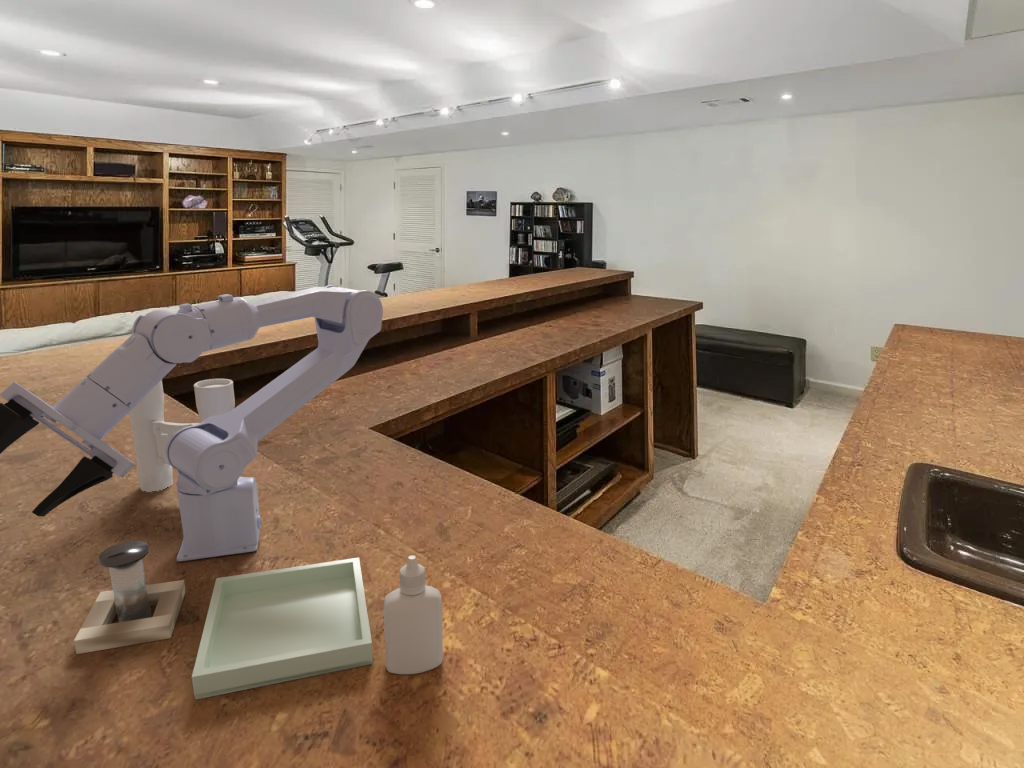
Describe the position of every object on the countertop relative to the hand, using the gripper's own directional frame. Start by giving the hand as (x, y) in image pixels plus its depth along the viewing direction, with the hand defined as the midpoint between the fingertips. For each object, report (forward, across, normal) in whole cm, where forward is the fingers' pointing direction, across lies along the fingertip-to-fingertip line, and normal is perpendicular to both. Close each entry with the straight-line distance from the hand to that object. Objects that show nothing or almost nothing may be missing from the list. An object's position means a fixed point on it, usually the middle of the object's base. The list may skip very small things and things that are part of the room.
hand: (4, 493), depth 62 cm
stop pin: (+4, +18, +2) cm, 19 cm away
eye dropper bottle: (-9, +43, -14) cm, 46 cm away
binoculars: (-10, +10, +32) cm, 35 cm away
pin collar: (+4, +18, +2) cm, 19 cm away
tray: (-5, +32, -5) cm, 32 cm away
